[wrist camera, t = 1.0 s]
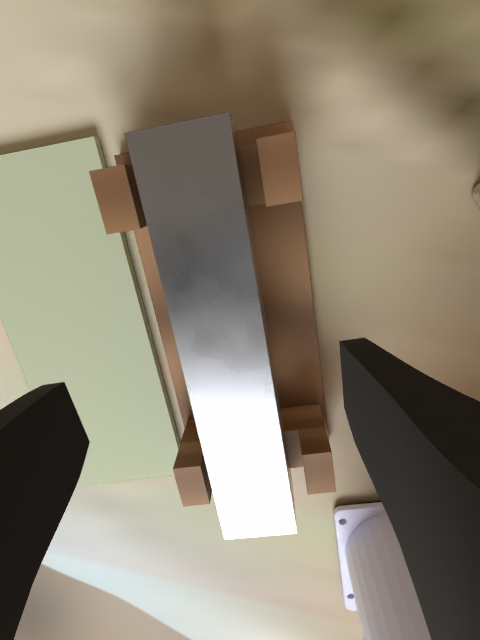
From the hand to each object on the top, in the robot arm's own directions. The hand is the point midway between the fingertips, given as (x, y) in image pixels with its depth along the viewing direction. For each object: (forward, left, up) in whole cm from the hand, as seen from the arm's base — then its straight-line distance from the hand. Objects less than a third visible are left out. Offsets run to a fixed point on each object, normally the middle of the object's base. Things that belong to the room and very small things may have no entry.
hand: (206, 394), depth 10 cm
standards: (-2, 0, -12) cm, 12 cm away
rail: (-2, 0, -9) cm, 9 cm away
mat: (-2, +9, -12) cm, 15 cm away
